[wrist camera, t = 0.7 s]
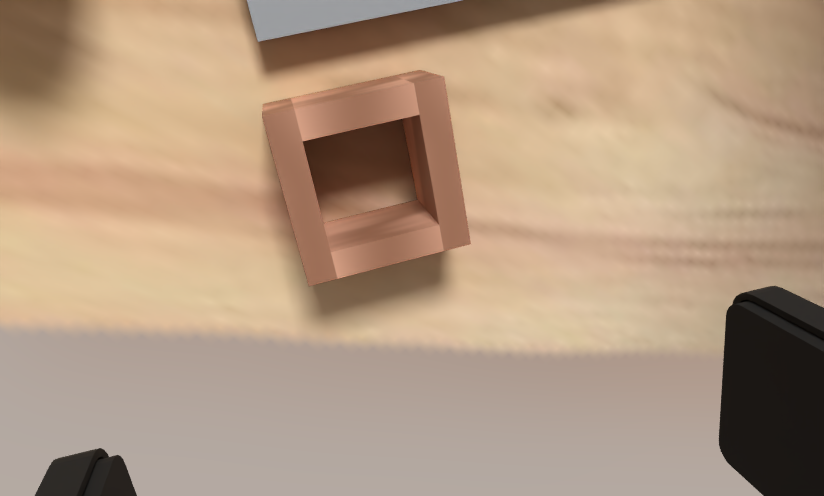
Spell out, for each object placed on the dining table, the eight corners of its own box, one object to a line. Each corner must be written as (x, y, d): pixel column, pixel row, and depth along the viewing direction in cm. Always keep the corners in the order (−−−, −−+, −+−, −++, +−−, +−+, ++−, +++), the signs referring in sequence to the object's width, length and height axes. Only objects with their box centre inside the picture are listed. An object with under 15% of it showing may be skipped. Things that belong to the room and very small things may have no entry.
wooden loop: (420, 70, 27) (444, 76, 23) (445, 216, 29) (470, 243, 26) (262, 104, 26) (262, 116, 22) (303, 253, 28) (308, 286, 25)
